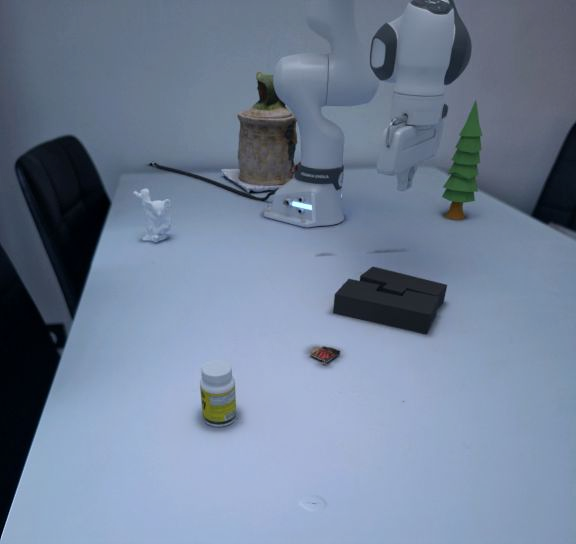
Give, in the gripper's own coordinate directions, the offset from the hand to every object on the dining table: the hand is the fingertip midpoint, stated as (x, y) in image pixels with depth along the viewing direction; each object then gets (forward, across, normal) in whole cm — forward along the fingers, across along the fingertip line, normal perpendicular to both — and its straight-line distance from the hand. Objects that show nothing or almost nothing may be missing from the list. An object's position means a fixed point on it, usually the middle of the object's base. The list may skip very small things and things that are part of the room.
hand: (403, 189), depth 104 cm
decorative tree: (+21, +52, +5) cm, 57 cm away
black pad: (+19, -9, -6) cm, 21 cm away
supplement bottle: (+18, -58, -2) cm, 61 cm away
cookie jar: (+22, +48, +69) cm, 87 cm away
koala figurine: (+20, -14, +57) cm, 62 cm away
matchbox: (+18, -35, -5) cm, 40 cm away
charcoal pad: (+19, -16, -6) cm, 25 cm away
